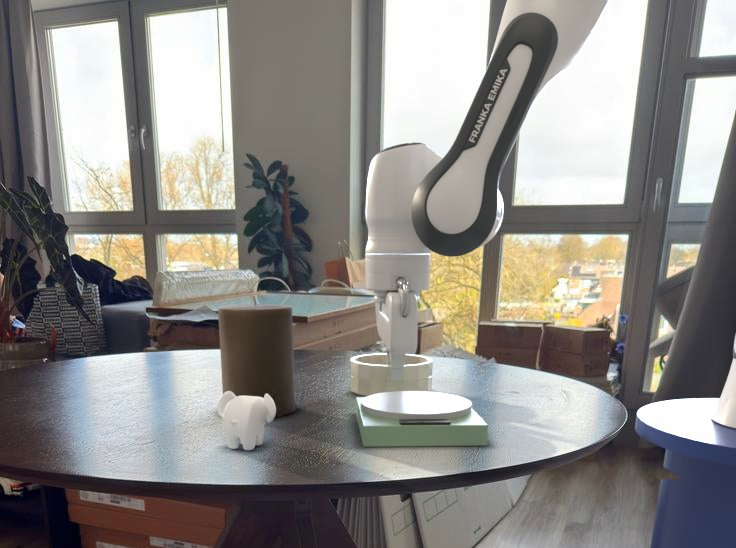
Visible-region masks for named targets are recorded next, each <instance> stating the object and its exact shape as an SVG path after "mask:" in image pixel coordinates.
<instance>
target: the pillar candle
mask: <svg viewBox="0 0 736 548" xmlns="http://www.w3.org/2000/svg"><path fill="white" fill-rule="evenodd" d="M252 299H253V304H228V305H222V306H218V307H217V319H218V330H219V331H218V332H219V347H220V348H219V350H220V351H219V352H220V364H221V365H220V366H221V367H220V369H221V388H222V395H223V394H224V393H225V392H227V391H231V392H233V393H234V394H235V396H257V397H262V398H264V396H265V394H269V396H270V397H271V398H272V399H273V401H274V403H275V406H276V415H275V417H274V418H280V417H283V416H287V415H289V414H292V413H294V412H295V411H296V385H295V383H296V381H295V357H294V356H295V355H294V353H295V352H294V351H295V350H294V328H293V325H294V324H293V306H292V305H289V304H274V303H272V304H271V303H270V304H267V303H266V304H265V303H264V304H262V303H257V300H256V297H255V295H253V296H252Z"/></svg>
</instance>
